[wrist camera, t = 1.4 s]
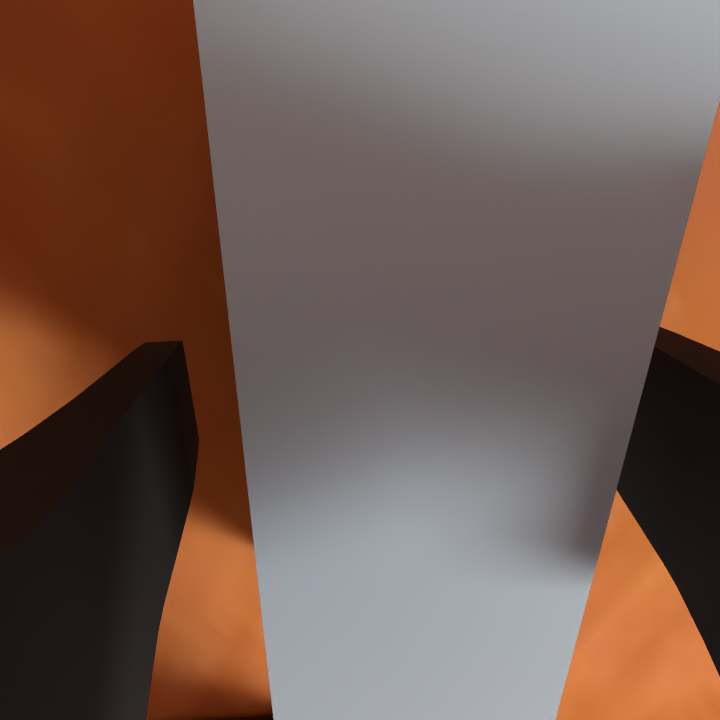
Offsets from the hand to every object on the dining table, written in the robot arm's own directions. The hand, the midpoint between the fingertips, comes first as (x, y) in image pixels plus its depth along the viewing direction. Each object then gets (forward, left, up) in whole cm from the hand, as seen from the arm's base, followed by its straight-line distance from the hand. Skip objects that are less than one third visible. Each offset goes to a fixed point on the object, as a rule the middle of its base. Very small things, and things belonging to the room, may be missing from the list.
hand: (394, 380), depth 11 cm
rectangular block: (0, 0, -2) cm, 2 cm away
